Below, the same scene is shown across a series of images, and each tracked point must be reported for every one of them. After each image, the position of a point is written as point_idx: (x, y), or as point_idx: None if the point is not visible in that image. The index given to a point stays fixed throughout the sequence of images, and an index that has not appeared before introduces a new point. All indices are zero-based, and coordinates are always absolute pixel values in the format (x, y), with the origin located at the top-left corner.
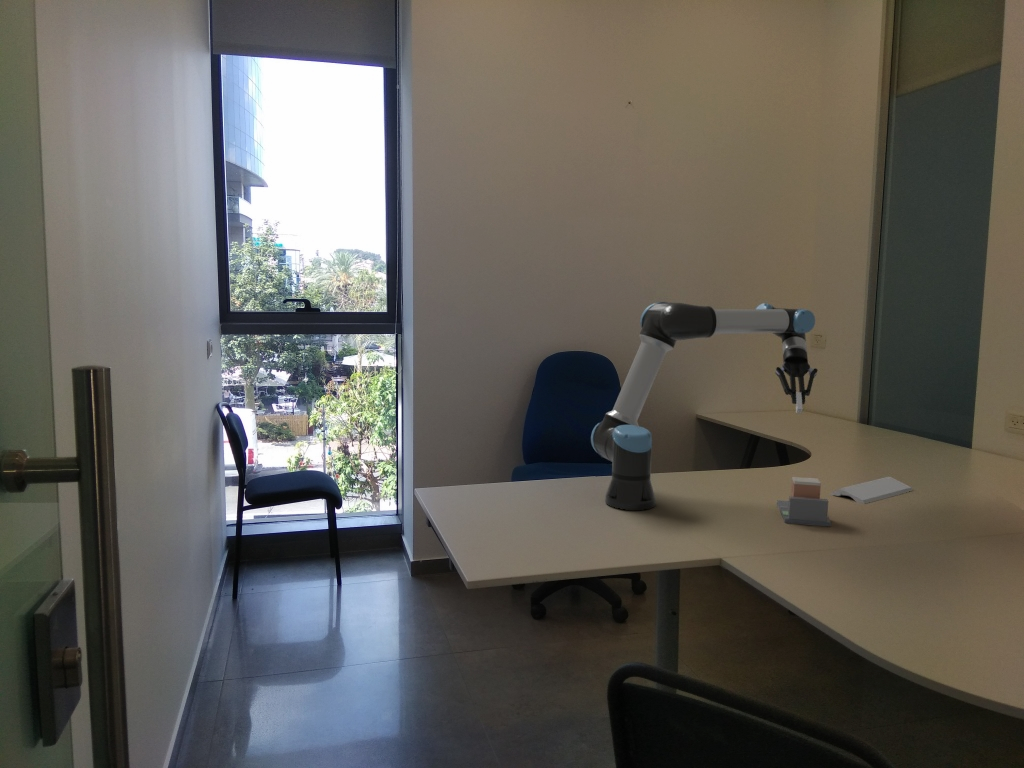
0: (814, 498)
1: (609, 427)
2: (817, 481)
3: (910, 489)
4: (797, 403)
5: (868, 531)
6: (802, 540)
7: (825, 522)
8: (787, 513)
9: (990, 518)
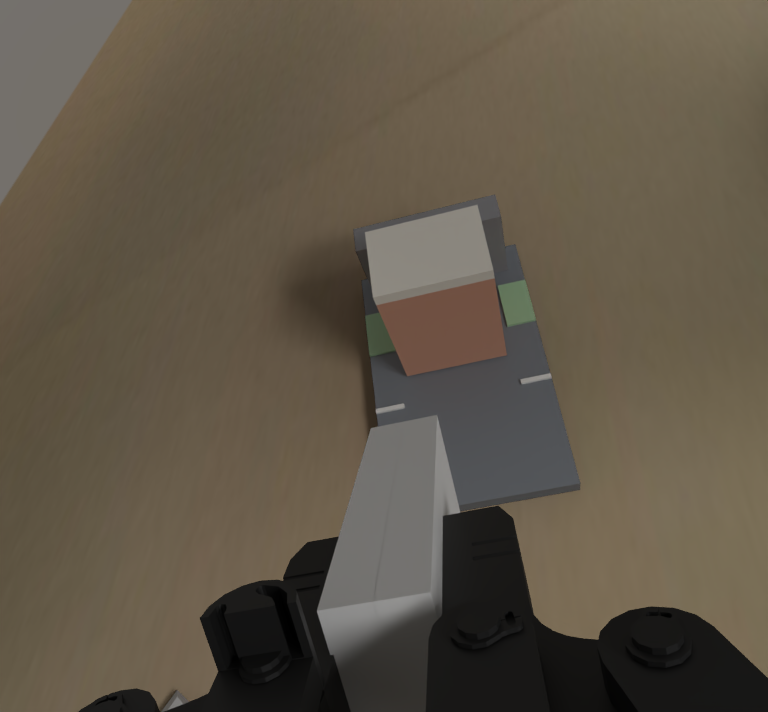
0: None
1: None
2: (377, 248)
3: None
4: (430, 453)
5: (253, 300)
6: (453, 137)
7: None
8: (512, 297)
9: None
